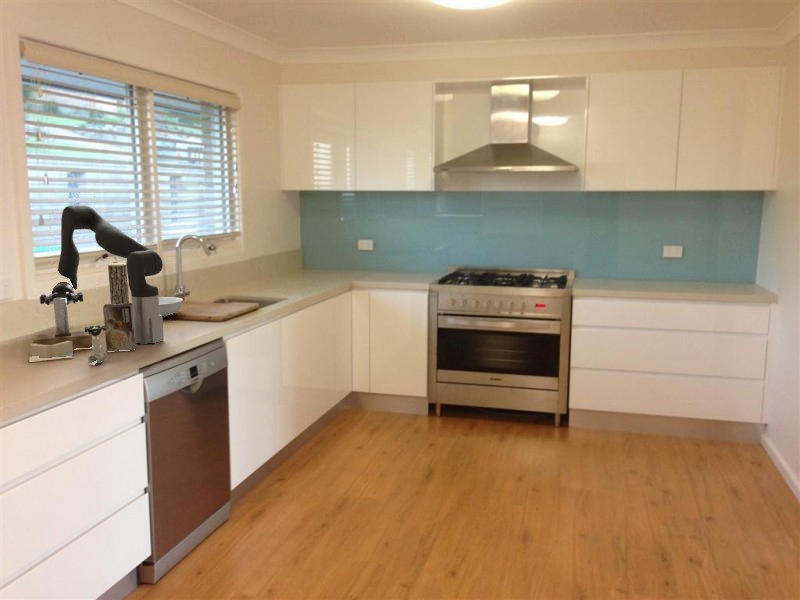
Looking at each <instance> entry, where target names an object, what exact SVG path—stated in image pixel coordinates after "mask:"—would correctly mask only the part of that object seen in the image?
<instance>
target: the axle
mask: <svg viewBox="0 0 800 600" xmlns="http://www.w3.org/2000/svg"><path fill="white" fill-rule="evenodd" d="M53 301H54V304H53V309H54V320H55V330H56V331H55V332H56V333H55V334H57V337H65V336H69V332H70V325H69V316H68V305H67V301H66V298H54V299H53Z"/></svg>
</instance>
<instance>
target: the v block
mask: <svg viewBox="0 0 800 600" xmlns="http://www.w3.org/2000/svg"><path fill="white" fill-rule="evenodd" d="M73 351H74V349H73V346H72V341H65V342H61V343H58V344H54V345H42V344H33V343H31V344H29V352H30V354H29V357H30V356H31V357H32V356H39V358H52V357H66V356H73ZM74 352H75V351H74ZM73 357H74V356H73Z"/></svg>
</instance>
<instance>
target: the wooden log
mask: <svg viewBox="0 0 800 600" xmlns="http://www.w3.org/2000/svg"><path fill="white" fill-rule="evenodd" d="M107 270H108V271H107V272H108V281H109V284H108V285H109V295H110V297H109V298H110V304H122V303H130V299H129V282H128V274H127V264H126V262H112V263H107Z"/></svg>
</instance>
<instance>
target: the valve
mask: <svg viewBox="0 0 800 600" xmlns="http://www.w3.org/2000/svg"><path fill="white" fill-rule="evenodd" d="M105 330H106V326H105V325H102V326H101V325H100V324H99V325H96V326H94V325H89V327H88V326H86V327H84V331H85V332H87V331H88V333H89V334H90V335H92V349H91V350H92V353H91V355H89V356H88V357H87V362H88V364H89V363H92V362H94V361H96V360H97V363H100V362H101V361H103V362H104V361H105V359H107V358H108V357H107V356H108V353H107V351H105V350H104V349H103V346H102V345H100V342H101V341H100V337H98V336H100V334H101V332H102V331H103V332H105ZM100 364H101V363H100Z"/></svg>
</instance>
